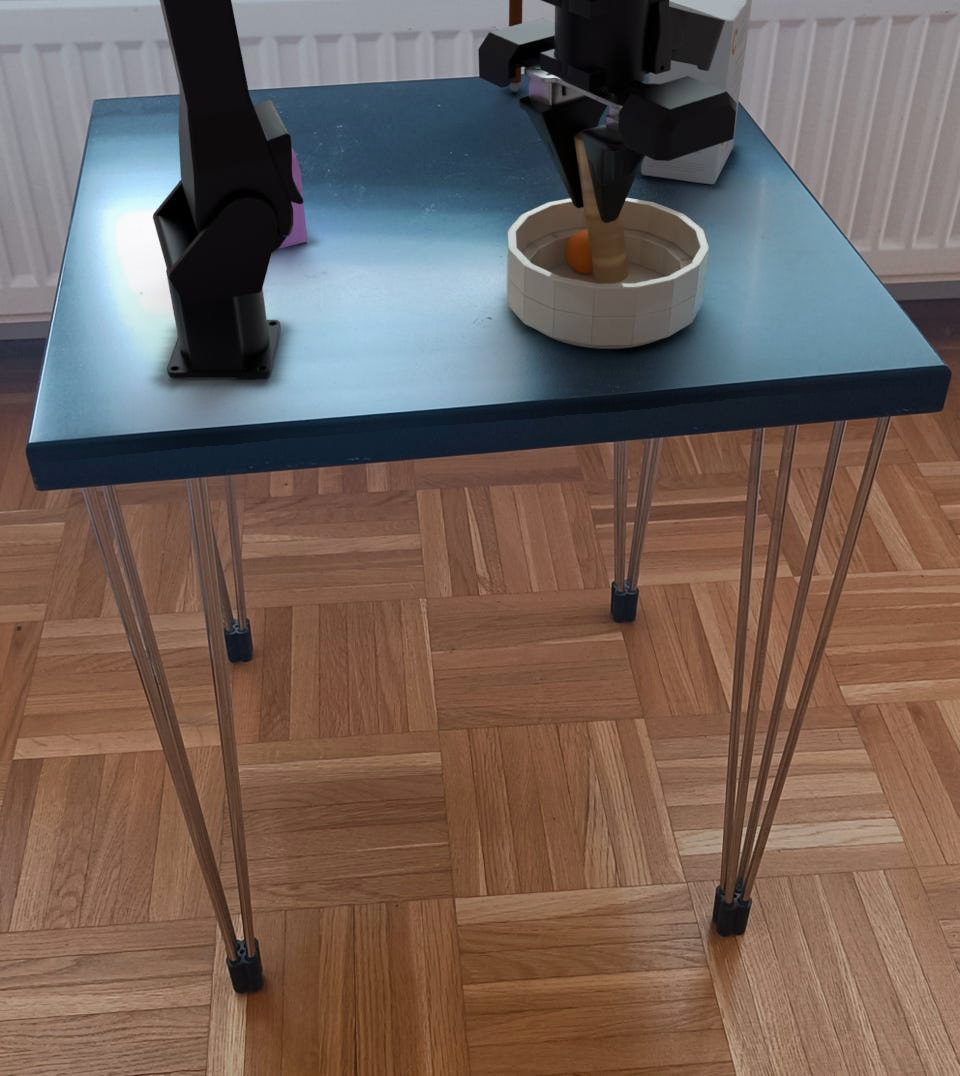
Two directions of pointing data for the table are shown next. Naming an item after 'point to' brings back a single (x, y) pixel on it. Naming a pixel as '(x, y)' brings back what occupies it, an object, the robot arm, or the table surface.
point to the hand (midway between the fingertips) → (595, 213)
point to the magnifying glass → (514, 19)
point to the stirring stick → (601, 228)
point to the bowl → (607, 308)
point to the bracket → (296, 211)
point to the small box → (724, 74)
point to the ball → (579, 252)
